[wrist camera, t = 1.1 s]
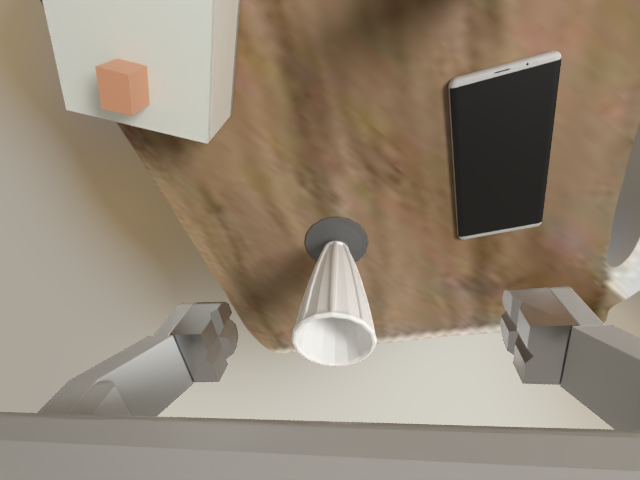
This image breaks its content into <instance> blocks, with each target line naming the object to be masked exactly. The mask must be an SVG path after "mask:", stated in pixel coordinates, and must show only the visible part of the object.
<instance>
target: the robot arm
mask: <svg viewBox="0 0 640 480" xmlns="http://www.w3.org/2000/svg"><path fill="white" fill-rule="evenodd" d="M502 303H503V305H504V307H505V309H506V312H505V313H504V314H503V315H502V316H501V332H502V337H503V341H504V344H505V346H506V349H507V351H509V352H510V353H512V354H513V355H514V361H513V364H514V366H515V368H516V370H517V372H518V374H519V376H520V379H521V380H522V383H527V384H529V383H530V384H560V385H561V387H562V388H564V389H565V390H566V391H567V392H569V393H570V394H571V395H572V396H574V397H575V398H576V399H577V400H579V401H580V402H581V403H582V404H584V405H585V406H587V408H589V409H590V410H591V411H592V412H594V413H595V414H596V415H598V416H599V417H600V418H601V419H603V420H604V421H605V422H606V423H608V424H609V425H610V426H611V427H613V428H614V429H615V430H605V429H603V430H601V429H568V428H528V427H493V426H462V425H429V424H428V425H427V424H397V423H395V424H394V423H362V422H361V423H360V422H327V421H290V420H287V421H286V420H255V419H253V420H252V419H218V418H185V417H156V416H157V415H159V414H160V413H161V412H162V411H163V410H164V409H165V408H167V407H168V406H169V405H170V404H171V403H172V402H173V401H174V400H175V399H177V398H178V397H179V396H180V395H181V394H182V393H183V392H184V391H186V390H187V389H188V388H189V387H190V386H191V385H192V384H193V382H218V381H220V379H221V377H222V375H223V373H224V371H225V369H226V367H227V365H228V364H227V361H226V358H228V357H229V356H231V355H232V354H233V353H234V351H235V349H236V346H237V341H238V332H237V328H236V324H235V323H234V322H233V321H232V320H230V319H229V317H230V315H231V313H232V312H231V309H230V307H229V304H228V303H226V302H198V303H195V302H194V303H182V304H179V306H178V307H177V308H176V309H175V310H174V311H173V313H172V314H171V315H170V316H169V317H168V319H167V320H166V321H165V322H164V323H163V324H162V326H161V327H160V328H159V329H158V330H157V331H156V333H155V334H154V335H153V336H147V337H146V338H144V339H142V340H140V341H139V342H137V343H135V344H134V345H132V346H130V347H128V348H126V349H124V350H123V351H121V352H119V353H117V354H115V355H114V356H112V357H110V358H108V359H107V360H105V361H103V362H101V363H99V364H98V365H96V366H94V367H92V368H91V369H89V370H87V371H85V372H84V373H82V374H80V375H78V376H76V377H75V378H73V379H71V380H70V381H68V382H67V383H66V384H65V385H64V386H63V387H62V388H61V389H60V390H59V391H58V392H57V393H56V394H55V395H54V396H53V397H52V399H50V400H49V401H48V402H47V403H46V405H44V407H42V408H41V409H40V411H38V413H13V412H0V480H640V338H639V337H637V336H635V335H633V334H630V333H628V332H626V331H624V330H622V329H619V328H617V327H615V326H613V325H604V324H603V323H602V321H601V320H600V319H599V318H598V317H597V316H596V315H595V314H594V313H593V311H592V310H591V309H590V308H589V307H588V306H587V305H586V304H585V303H584V302H583V300H582V299H581V298H580V297H579V296H578V295H577V294H576V293H575V292H574V290H573V289H572V288H570V287H568V286H558V287H546V288H534V289H516V290H505V291H504V294H503V301H502Z"/></svg>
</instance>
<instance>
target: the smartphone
mask: <svg viewBox="0 0 640 480" xmlns="http://www.w3.org/2000/svg"><path fill="white" fill-rule="evenodd" d="M560 66H561V54H560V53H559V52H557V51H549V52H546V53H542V54H538V55H535V56H531V57H527V58H524V59H520V60H517V61H513V62H509V63H506V64H502V65H498V66H495V67H491V68H488V69H484V70H480V71H477V72H473V73H469V74H466V75H462V76H458V77H455V78H453V79H452V80H451V81H450V82H449V85H448V89H449V105H450V124H451V141H452V157H453V171H454V187H455V203H456V219H457V234H458V237H459V238H460V239H462V240H464V239H470V238H475V237H481V236H486V235H492V234H498V233H503V232H509V231H514V230H520V229H526V228H531V227H537V226H539V225H540V224H541V223H542V218H543V209H544V201H545V192H546V184H547V175H548V167H549V159H550V150H551V142H552V133H553V125H554V116H555V108H556V100H557V91H558V83H559V74H560Z"/></svg>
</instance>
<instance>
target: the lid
mask: <svg viewBox="0 0 640 480" xmlns="http://www.w3.org/2000/svg"><path fill="white" fill-rule="evenodd" d="M42 1H43V6H44V10H45V15H46V19H47V23H48V29H49V33H50V37H51V43H52V47H53V52H54V56H55V61H56V66H57V70H58V75H59V79H60V84H61V89H62V93H63V98H64V102H65V107H66V110H68V111H73V112H77V113H81V114H85V115H89V116H93V117H98V118H102V119H106V120H110V121H114V122H119V123H123V124H127V125H131V126H135V127H140V128H144V129H148V130H152V131H156V132H160V133H165V134H169V135H173V136H177V137H181V138H186V139H190V140H194V141H198V142H202V143H207V144H208V143H209V141H210V133H211V107H212V81H213V54H214V28H215V2H216V0H42Z"/></svg>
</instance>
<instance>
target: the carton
mask: <svg viewBox="0 0 640 480" xmlns="http://www.w3.org/2000/svg"><path fill="white" fill-rule="evenodd" d="M239 13H240V0H216V2H215V28H214V54H213V81H212V107H211V133H210V140H211V139H212V138H213V136H214V135H215V134H216V133H217V132H218V130H219V129H220V128H221V127H222V125H223V124H224V123H225V122H226V120H227V119H228V118H229V117H230V116H231V114H232V106H233V93H234V80H235V66H236V53H237V40H238V26H239Z"/></svg>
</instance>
